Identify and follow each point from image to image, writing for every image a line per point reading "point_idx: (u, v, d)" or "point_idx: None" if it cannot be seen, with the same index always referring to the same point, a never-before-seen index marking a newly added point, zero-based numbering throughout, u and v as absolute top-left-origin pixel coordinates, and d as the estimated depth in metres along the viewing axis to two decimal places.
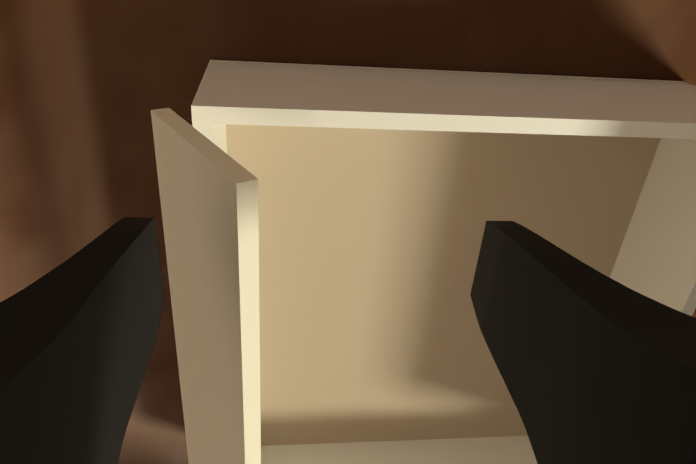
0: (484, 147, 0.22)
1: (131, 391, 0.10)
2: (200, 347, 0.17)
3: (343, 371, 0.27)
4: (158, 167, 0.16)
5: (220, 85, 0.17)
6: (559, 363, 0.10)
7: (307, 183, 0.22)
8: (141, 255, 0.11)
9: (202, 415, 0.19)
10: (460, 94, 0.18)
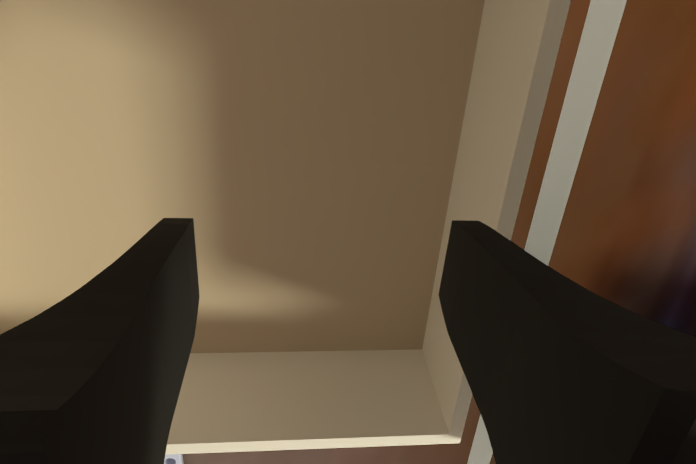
0: None
1: (174, 390, 0.10)
2: None
3: (117, 246, 0.20)
4: None
5: None
6: (515, 364, 0.09)
7: None
8: (183, 255, 0.11)
9: None
10: None
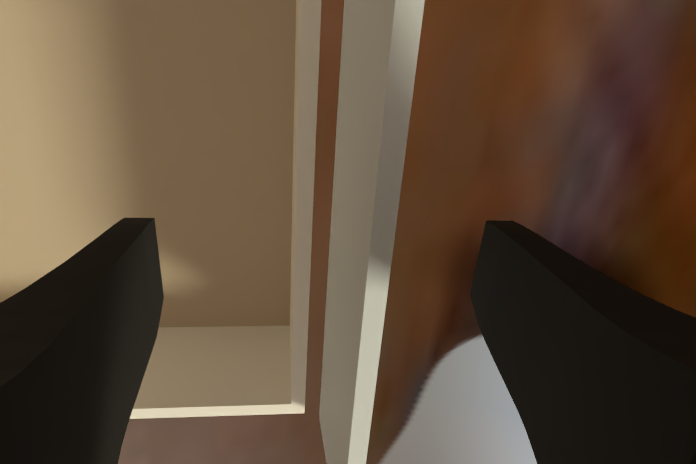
0: None
1: (131, 391, 0.10)
2: None
3: None
4: None
5: None
6: (559, 363, 0.10)
7: None
8: (141, 255, 0.11)
9: None
10: None
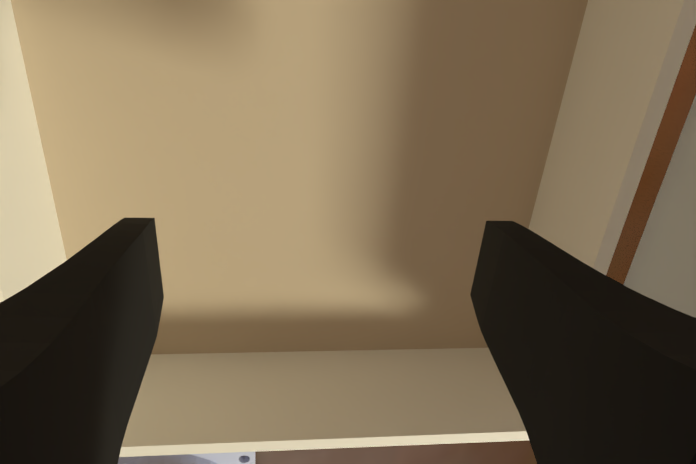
0: None
1: (131, 391, 0.10)
2: None
3: (211, 247, 0.21)
4: None
5: None
6: (559, 363, 0.10)
7: None
8: (141, 255, 0.11)
9: None
10: None
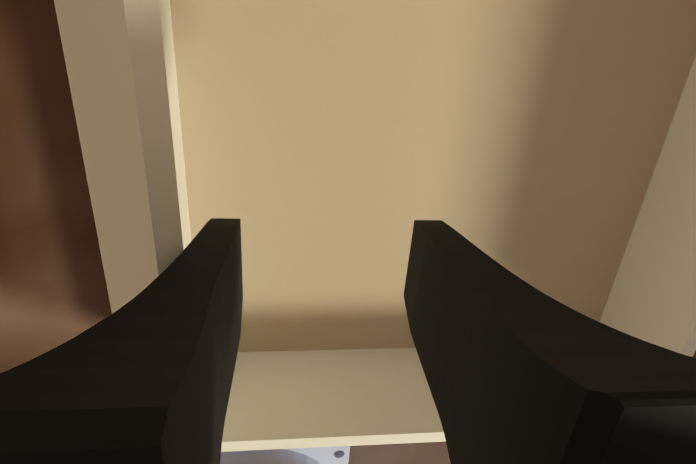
0: None
1: (227, 388, 0.11)
2: (92, 87, 0.11)
3: (331, 246, 0.21)
4: None
5: None
6: (467, 365, 0.09)
7: None
8: (235, 255, 0.11)
9: (112, 225, 0.13)
10: None
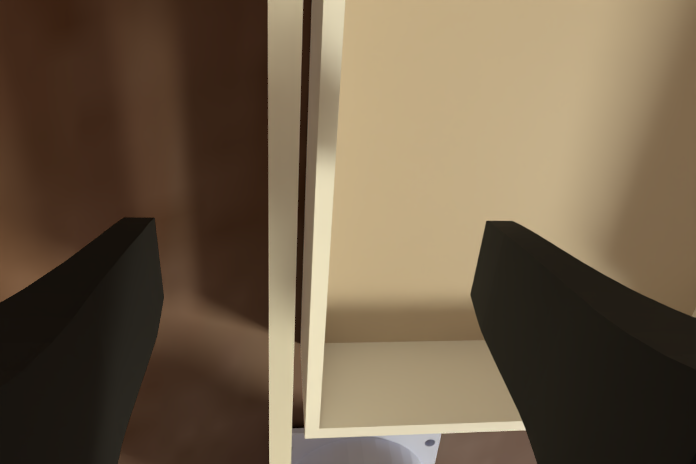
0: None
1: (131, 391, 0.10)
2: None
3: (448, 240, 0.22)
4: None
5: None
6: (559, 363, 0.10)
7: None
8: (141, 255, 0.11)
9: None
10: None
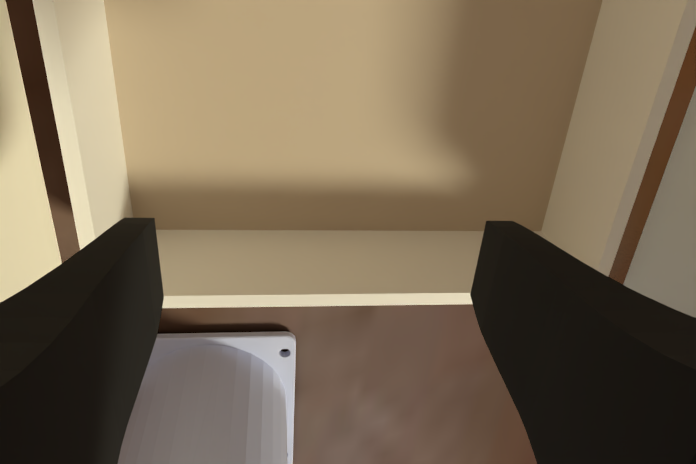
0: None
1: (131, 391, 0.10)
2: None
3: (264, 108, 0.21)
4: None
5: None
6: (559, 363, 0.10)
7: None
8: (141, 255, 0.11)
9: None
10: None
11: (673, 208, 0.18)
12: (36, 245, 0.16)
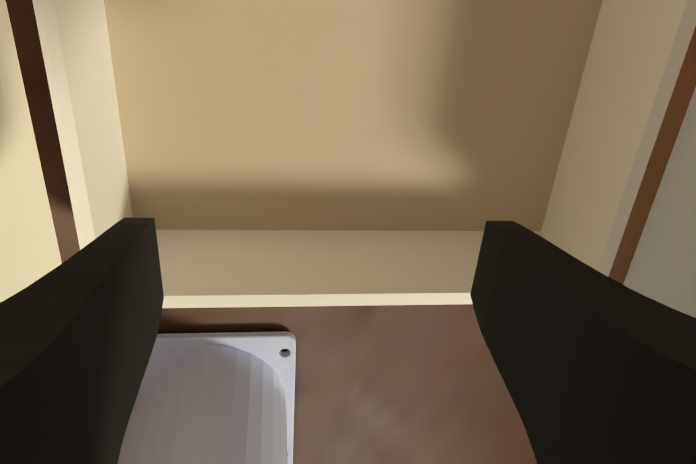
0: None
1: (131, 391, 0.10)
2: None
3: (264, 108, 0.21)
4: None
5: None
6: (559, 363, 0.10)
7: None
8: (141, 255, 0.11)
9: None
10: None
11: (673, 208, 0.18)
12: (34, 245, 0.16)
